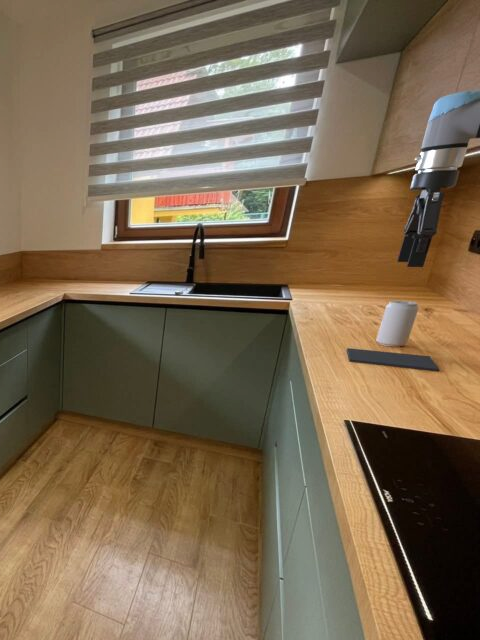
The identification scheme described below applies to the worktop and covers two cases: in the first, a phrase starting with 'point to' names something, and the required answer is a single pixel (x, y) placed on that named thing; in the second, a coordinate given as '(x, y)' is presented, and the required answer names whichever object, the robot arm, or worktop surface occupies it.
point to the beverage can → (397, 323)
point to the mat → (392, 359)
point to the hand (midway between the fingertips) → (409, 264)
